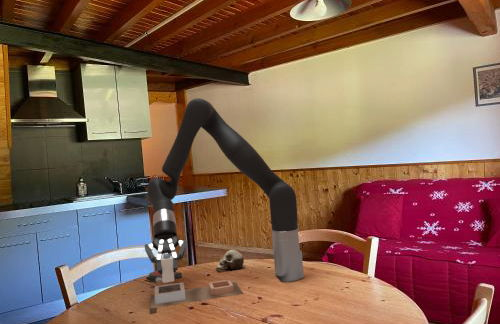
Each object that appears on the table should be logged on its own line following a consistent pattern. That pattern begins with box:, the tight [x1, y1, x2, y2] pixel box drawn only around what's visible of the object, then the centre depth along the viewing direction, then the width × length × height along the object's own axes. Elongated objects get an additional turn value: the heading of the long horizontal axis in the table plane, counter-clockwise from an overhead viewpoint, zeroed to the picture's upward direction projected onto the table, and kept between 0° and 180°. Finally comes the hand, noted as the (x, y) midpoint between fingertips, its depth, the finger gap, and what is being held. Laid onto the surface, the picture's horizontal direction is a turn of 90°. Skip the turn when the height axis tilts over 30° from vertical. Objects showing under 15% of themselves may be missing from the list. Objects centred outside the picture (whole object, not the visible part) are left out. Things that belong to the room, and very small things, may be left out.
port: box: [154, 282, 186, 306], centre depth 117 cm, size 9×9×3 cm
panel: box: [149, 281, 244, 314], centre depth 119 cm, size 28×12×2 cm, turn 103°
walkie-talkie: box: [145, 269, 183, 283], centre depth 140 cm, size 9×4×20 cm
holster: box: [208, 279, 234, 295], centre depth 121 cm, size 7×7×2 cm
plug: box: [161, 253, 175, 284], centre depth 117 cm, size 4×4×8 cm
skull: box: [215, 249, 247, 273], centre depth 150 cm, size 12×10×10 cm
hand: (167, 271), depth 115 cm, fingers closed on plug, 3 cm apart
